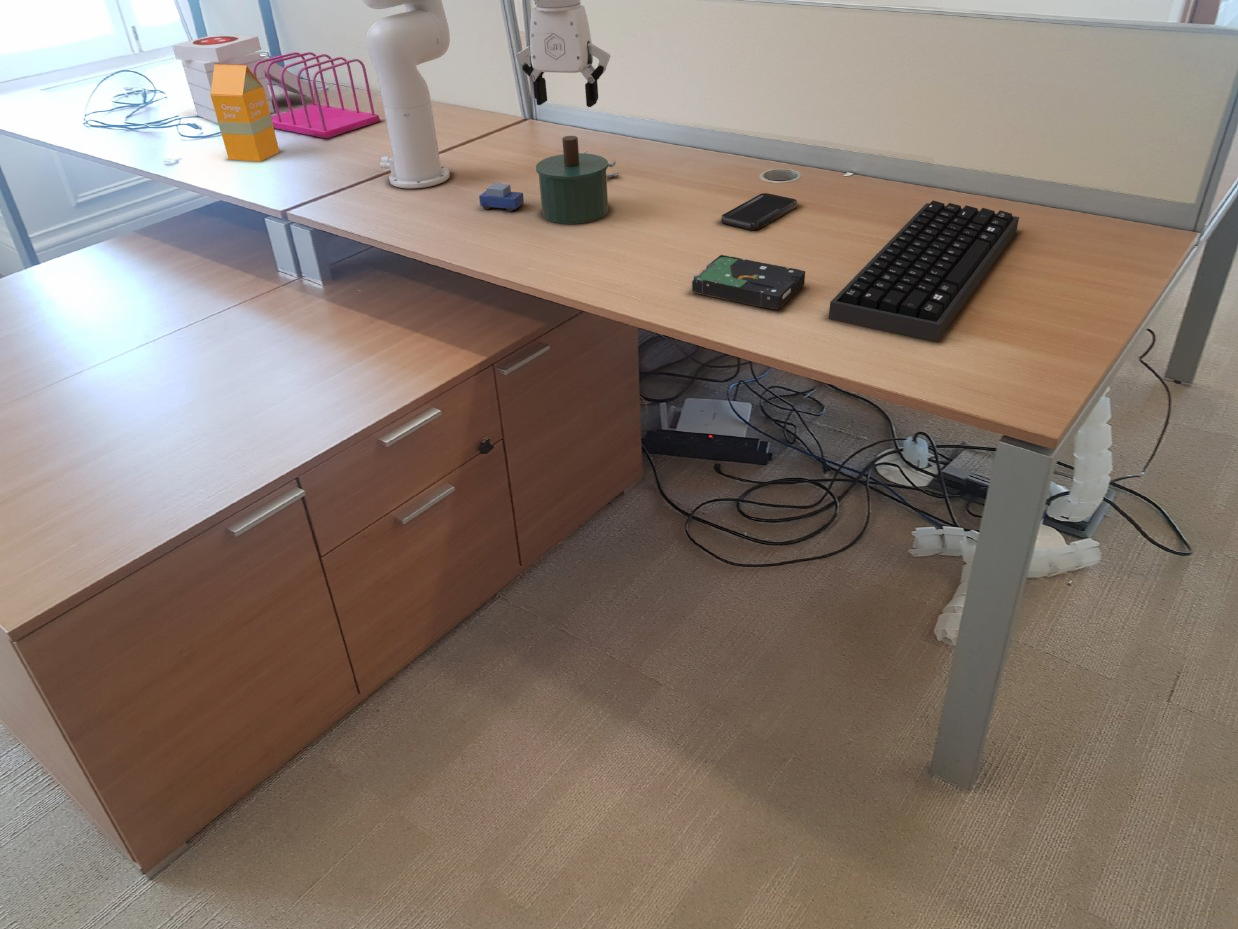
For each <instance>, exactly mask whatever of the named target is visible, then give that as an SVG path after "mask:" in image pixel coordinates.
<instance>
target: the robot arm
mask: <svg viewBox="0 0 1238 929" xmlns="http://www.w3.org/2000/svg"><path fill="white" fill-rule="evenodd" d="M362 2H363V4H364V5H366V6H367V7H368V8H371V9H373V10H383V9H384V10H385V9H390V8H394V7H399V6H402V5H404V8H405V12H399V13H395V14H392V15H388V16H385V17H381V18H379V19H378V20H376V21H374V22H373V23H372V24H371V26H370V27H369V28H368V30H367V34H366V39H365V40H366V42H365V43H366V48H367V53H368V55H369V58H370V60H371V63H372V66H373V68H374V71H375V74H376V78H377V83H378V86H379V90H380V96H381V100H382V106H383V112H384V116H385V121H386V127H387V132H388V138H389V143H390V149H391V155H392V156H388V155H382V156H381V157H380V162H379V167H380V169H384V170H385V169H386V170H387V169H389V170H390V174H389V176H388V180H389V183H390V185H392V186H394V187H396V188H401V189H424V188H429V187H430V188H431V187H433V186H437V185H440V184H442V183H444V182H446V181H447V180H449V179H450V176H451V174H450V170H449V168H448V167H445V166H443V165H442V164H441V158H440V151H439V144H438V138H437V133H436V132H437V131H436V126H435V120H434V114H433V112H434V111H433V107H432V106H433V105H432V100H431V94H430V89H429V86H428V84H427V82H426V80H425V78H424V77H423V75H422V74H421V72H420V71H419V69H418V66H419V65H421V64H424V63H428V62H430V61H431V62H432V61H434V60H437V59H440V58H441V57H442V56H444V55H445V54H446V53H447V51H448V50H449V47H450V43H451V34H450V28H449V24H448V23H449V22H448V19H447V16H446V12H445V8H444V4H443V1H442V0H362ZM534 5H535V7H532V8H531V12H530V24H529V26H530V27H529V40H530V41H529V44H530V45H528V46H527V47H525V48H523V49H522V50H521V51H519V52H518V53H516V59H517V61H518V63H519V64H520V66H521V68H522V71H523V72H524V74H526V76H528V77H529V80H530V81H531V82H532V88H533V96H534V99H535V101H536V106H541V105H543V104H544V103H547V101H548V91H547V82H546V78H545V77H543V75H544V74H545V73H558V74H559V73H562V74H563V73H564V74H565V73H566V74H567V73H568V74H575V73H576V74H577V73H581V75H582V76H583V77H584V79H585V80H586V83H585V84H584V89H585V90H584V91H585V92H584V93H585V103H586V107H587V108H592V107H594V106H595V105H596V104H597V103H598V100H599V87H598V80H599V79H600V78H601V76H602V75H603V74H604V73H605V72H606V70H607V66H608V64H609V62H610V60H611V54H610V53H609V52H607V51H605V50H604V49H601V48H600V47H599V46H596V45H595V44H593V43H592V37H591V36H592V35H591V30H590V24H589V20H588V14H587V11H586V8H585V5H583V4H581V0H534ZM529 56H530V60H531V61H530V60H529ZM594 57H595V58H596V59H598V64H597V67H596V68H595V66H594V65H593V61H594Z"/></svg>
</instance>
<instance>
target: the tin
mask: <svg viewBox="0 0 1238 929" xmlns="http://www.w3.org/2000/svg"><path fill="white" fill-rule="evenodd" d="M606 174H607V169H606V170H605V171H604V172H602V173H600V174H597V175H594V176H591V177H586V178H580V179H552V178H547V177H544V176H541V175H539V174H538V180H539V181H538V182H539V193H540V201H541V202H540V203H541V212H542V216H543V218H544V219H545V220H546V221H548V222H551V223H555V224H560V225H581V224H588V223H591V222H595V221H597V220H600V219H602V218H604V217H605V216H606V215H607V214H608V212H609V198H608V197H609V196H608V181H607V179H608V178H607V177H606Z"/></svg>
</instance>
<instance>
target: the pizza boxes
mask: <svg viewBox="0 0 1238 929" xmlns="http://www.w3.org/2000/svg"><path fill="white" fill-rule="evenodd" d="M171 47H172V50H173V53H174V57H175V59H176V60H180V61H181V66H182V68H183V72H184V74H185V78H186V82H187V85H188V88H189V92H190V95H191V99H192V103H193V106H194V109H195V113H196V115H197V116H198V117H200V118H203V119H205V120H207V121H210V122H213V123H215V124H217V125H218V120H217V117H216V113H215V110H214V106H213V103H212V99H211V95H210V94H211V87H212V79H213V72H214V64H236V65H247V67H248V68H249V69H250V70H251V72H252V73H253V67H254V65H255V64H256V63H257V62H258V61H261V60H265V59H269V57H265V56H262V55H261V54H260V52H258V51H261V50H262V47H261V42H260V39H259V36H258V35H240V34H224V33H223V34H222V33H214V34H211V35H206V36H203V37H199V38H196V39H192V40H189V41H188V40H187V41H184V42H181V43H177V44H173V45H171ZM270 62H271V61H268V62H264V63H260V64H259V65H258V66H257V68H256V77H257V79H258V81H259V82H260V83H261V84H262V86H263V87H264V91H265V95H266V99H267V103H268V107H269V111H270V114H273V113H275V109H274V106H273V102H272V101H273V100H272V98H271V97H272V96H271V92H270V90H269V89H270V88H269V84H268V78H267V72H266V70H267V66H268V64H269V63H270ZM283 68H284V66H282V65H279V64H278V63H274V64H272V65H271V67H270V69H269V74H270V78H271V83H272V84H273V85H275V86H278V87H279V88H281V89H282V90H284V89H283V85H282V81H281V71H282V69H283ZM284 82H285V86H286V89H287V92H291V93H293V94H297V95H299V96H300V91H299V87H298V83H297V75H296V74H295V73H293V72H291V71H290V70H288V69H286V70H285V72H284ZM300 84H301V88H302V92H303V96H304V98H309V99H312V98H311V94H310V89H309V84H308V81H306V80H304V79H302V78H301V77H300ZM311 86H312V91H313V92H315V91H314V87H313V84H311Z"/></svg>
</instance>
